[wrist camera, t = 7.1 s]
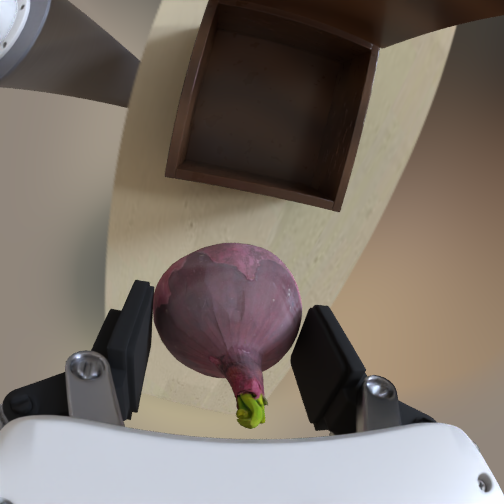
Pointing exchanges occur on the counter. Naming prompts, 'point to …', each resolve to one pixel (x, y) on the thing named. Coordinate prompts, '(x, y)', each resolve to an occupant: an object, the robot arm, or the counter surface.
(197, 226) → the counter surface
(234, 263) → the vegetable
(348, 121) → the chest
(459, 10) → the lid
